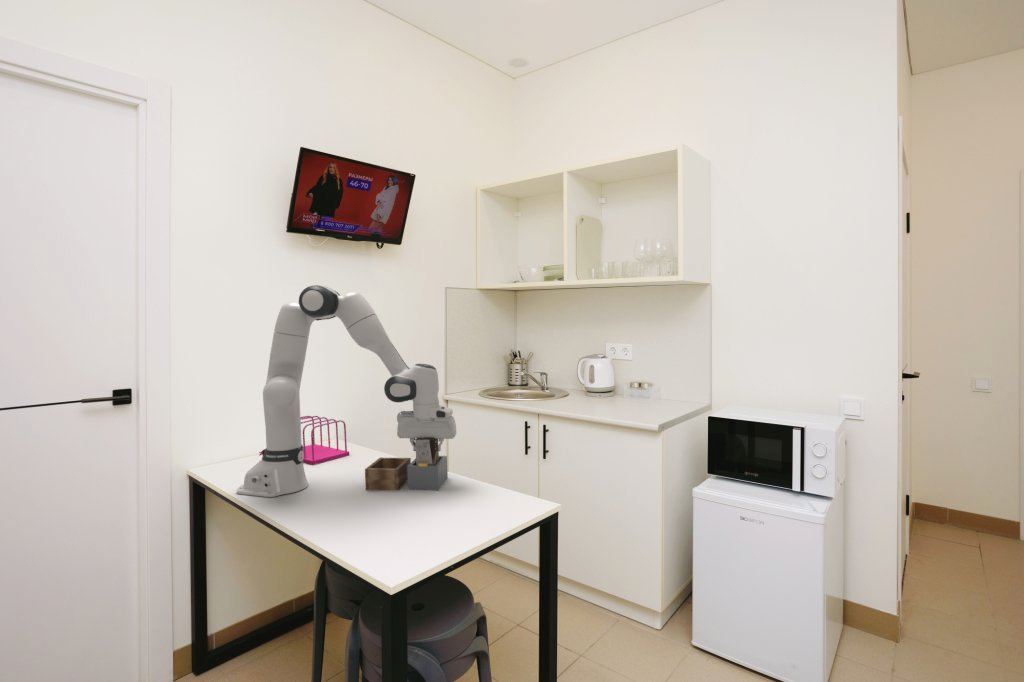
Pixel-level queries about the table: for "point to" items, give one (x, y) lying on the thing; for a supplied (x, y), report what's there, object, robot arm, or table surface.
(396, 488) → the open wooden box
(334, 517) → the table surface
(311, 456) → the file sorter
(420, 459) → the coffee box
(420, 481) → the frame
